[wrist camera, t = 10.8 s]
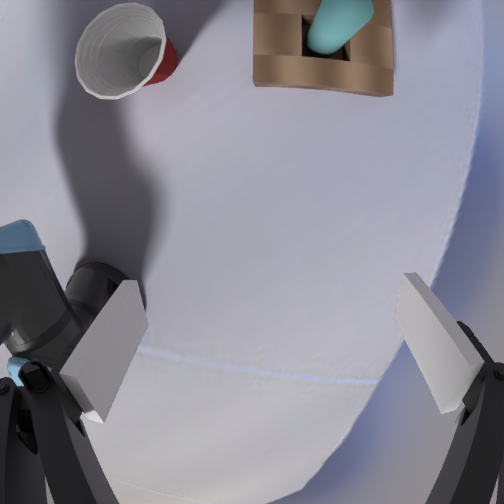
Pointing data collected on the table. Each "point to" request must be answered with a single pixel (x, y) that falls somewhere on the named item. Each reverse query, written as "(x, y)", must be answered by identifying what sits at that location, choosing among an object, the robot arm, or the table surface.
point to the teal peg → (336, 25)
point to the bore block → (320, 69)
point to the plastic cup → (123, 51)
